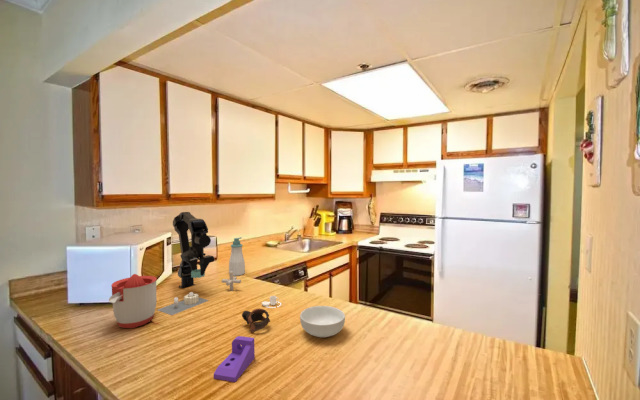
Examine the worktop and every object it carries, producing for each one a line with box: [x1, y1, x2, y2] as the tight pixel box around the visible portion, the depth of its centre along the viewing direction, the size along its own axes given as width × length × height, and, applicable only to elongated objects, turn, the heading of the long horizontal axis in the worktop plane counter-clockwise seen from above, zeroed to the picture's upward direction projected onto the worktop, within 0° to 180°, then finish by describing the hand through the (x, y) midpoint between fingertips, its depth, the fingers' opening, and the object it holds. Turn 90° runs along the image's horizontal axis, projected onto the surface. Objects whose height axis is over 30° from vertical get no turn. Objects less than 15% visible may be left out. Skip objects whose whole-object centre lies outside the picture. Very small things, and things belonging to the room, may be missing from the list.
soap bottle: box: [228, 236, 246, 277], centre depth 186 cm, size 10×10×23 cm
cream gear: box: [183, 293, 200, 305], centre depth 137 cm, size 6×6×3 cm
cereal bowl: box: [299, 305, 346, 338], centre depth 111 cm, size 17×17×7 cm
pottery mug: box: [241, 308, 271, 334], centre depth 115 cm, size 12×10×8 cm
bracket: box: [213, 335, 256, 383], centre depth 89 cm, size 12×7×7 cm, turn 166°
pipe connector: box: [221, 271, 242, 292], centre depth 157 cm, size 10×10×10 cm
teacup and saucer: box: [261, 295, 282, 309], centre depth 137 cm, size 9×8×4 cm
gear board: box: [157, 291, 210, 316], centre depth 134 cm, size 11×19×6 cm, turn 150°
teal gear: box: [191, 268, 206, 279], centre depth 150 cm, size 6×6×3 cm
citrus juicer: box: [108, 273, 157, 329], centre depth 118 cm, size 16×17×20 cm
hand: (198, 274), depth 150 cm, fingers closed on teal gear, 6 cm apart
